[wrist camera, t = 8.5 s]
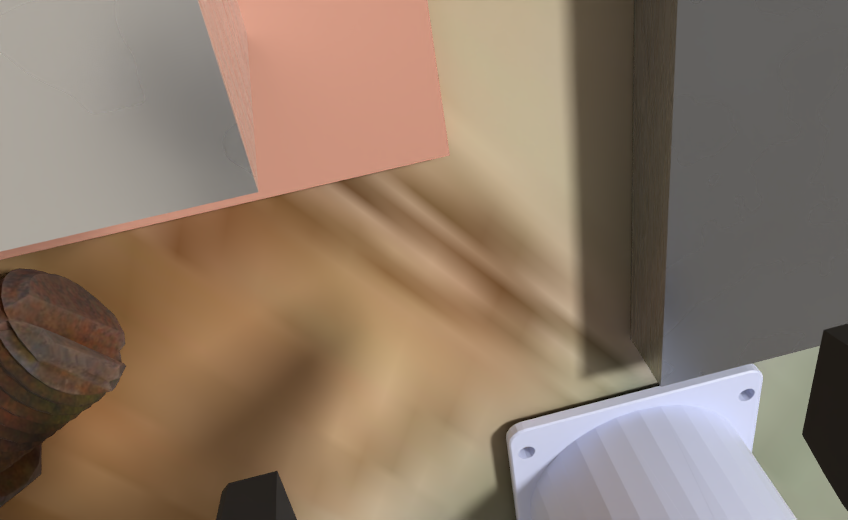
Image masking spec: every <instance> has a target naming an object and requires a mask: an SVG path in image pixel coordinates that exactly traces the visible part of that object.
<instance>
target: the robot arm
mask: <svg viewBox="0 0 848 520" xmlns="http://www.w3.org/2000/svg"><path fill="white" fill-rule="evenodd" d="M762 381H763V376H762V373H761V372H760V371H759V369H758V368H757V367H756V366H755V365H754V364H747V365H743V366H739V367H736V368H732V369H728V370H724V371H720V372H716V373H713V374H709V375H705V376H701V377H697V378H693V379H689V380H686V381H682V382H678V383H674V384H670V385H666V386H662V387H661V386H657V387H653V388H649V389H645V390H641V391H637V392H633V393H630V394H626V395H622V396H618V397H614V398H610V399H606V400H603V401H599V402H595V403H591V404H587V405H583V406H579V407H576V408H572V409H568V410H564V411H560V412H556V413H553V414H549V415H545V416H541V417H537V418H533V419H529V420H526V421H522V422H519V423H516V424H514V425H513V426H512V427H511V428H510V429H509V430H508V432H507V434H506V441H507V449H508V456H509V464H510V472H511V480H512V488H513V496H514V503H515V511H516V519H517V520H797V519H796V517H795V516H794V514H793V513H792V511H791V510H790V508H789V507H788V505H787V504H786V503H785V501H784V500H783V498H782V497H781V495H780V494H779V492H778V491H777V489H776V488H775V486H774V485H773V484H772V482H771V481H770V479H769V478H768V476H767V475H766V473H765V472H764V470H763V469H762V467H761V466H760V465H759V463H758V462H757V460H756V459H755V457H754V456H753V454H752V447H753V440H754V434H755V427H756V421H757V414H758V407H759V401H760V394H761V387H762ZM802 435H803V437H804V439H805V440H806V442H807V444H808V446H809V448H810V449H811V451H812V453H813V455H814V457H815V458H816V460H817V462H818V464H819V465H820V467H821V469H822V471H823V473H824V474H825V476H826V478H827V479H828V481H829V483H830V484H831V486H832V487H833V489H834V491H835V492H836V494H837V496H838V497H839V499H840V501H841V502H842V504H843V505H844V507H845V508H846V509H847V511H848V324H844V325H840V326H836V327H833V328H829V329H825V330H823V335H822V339H821V344H820V349H819V354H818V359H817V364H816V369H815V374H814V379H813V384H812V388H811V393H810V398H809V403H808V408H807V413H806V418H805V423H804V428H803V433H802ZM525 447H526V448H525ZM216 520H297V519H296V517H295V514H294V512H293V509H292V507H291V504H290V502H289V499H288V497H287V494H286V492H285V489H284V487H283V484H282V482H281V479H280V477H279V474H278V472H277V471H275V472H271V473H267V474H263V475H259V476H255V477H252V478H248V479H244V480H240V481H236V482H232V483H229V484H228V485H227V486H226V487H225V489H224V490H223V491H222V495H221V499H220V504H219V509H218V513H217V518H216Z"/></svg>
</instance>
